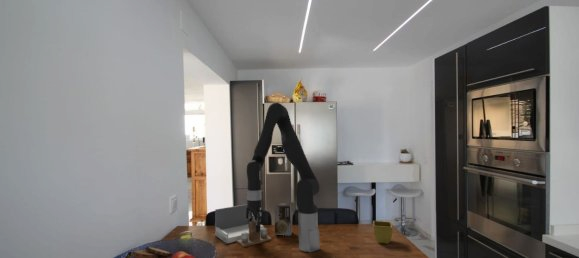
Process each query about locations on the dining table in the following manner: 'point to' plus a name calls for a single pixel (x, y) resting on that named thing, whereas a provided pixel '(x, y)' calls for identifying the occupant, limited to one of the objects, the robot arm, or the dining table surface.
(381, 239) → the flower pot
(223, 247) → the dining table surface
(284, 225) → the coffee box
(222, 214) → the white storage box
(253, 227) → the tray
